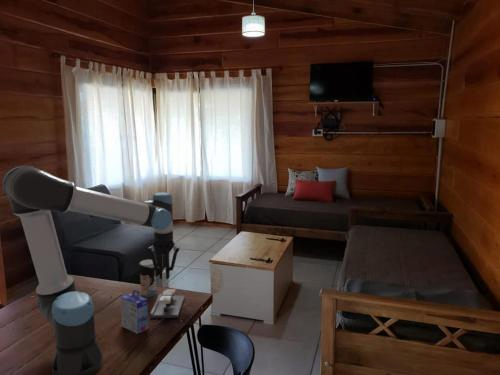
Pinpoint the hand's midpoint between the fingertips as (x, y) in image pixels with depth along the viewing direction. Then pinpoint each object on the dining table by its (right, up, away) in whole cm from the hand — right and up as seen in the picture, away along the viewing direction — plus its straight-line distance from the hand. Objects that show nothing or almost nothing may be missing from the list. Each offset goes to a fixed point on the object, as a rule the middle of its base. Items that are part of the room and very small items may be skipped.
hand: (164, 286), depth 157 cm
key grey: (+1, -5, +3) cm, 6 cm away
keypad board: (+1, -10, +4) cm, 11 cm away
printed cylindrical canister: (-11, -8, +17) cm, 22 cm away
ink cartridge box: (-9, -13, -11) cm, 20 cm away
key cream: (+1, -6, -2) cm, 6 cm away
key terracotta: (0, -6, +8) cm, 10 cm away
